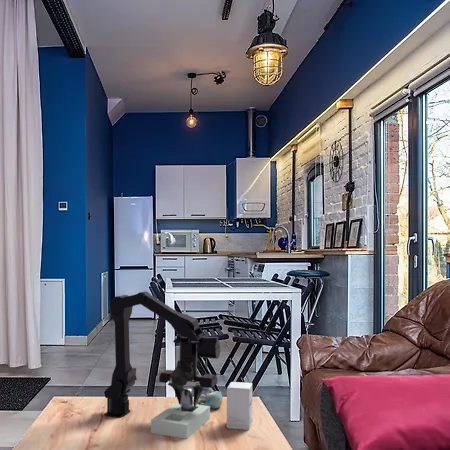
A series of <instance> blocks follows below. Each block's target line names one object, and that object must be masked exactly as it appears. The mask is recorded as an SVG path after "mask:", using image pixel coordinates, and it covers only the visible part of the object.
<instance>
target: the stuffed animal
mask: <svg viewBox="0 0 450 450" xmlns="http://www.w3.org/2000/svg"><path fill="white" fill-rule="evenodd" d="M206 388H207V387H206ZM206 391H207V392H205V394H204V393H201V395H200V397H199V400H198V402H197V405H204V406H210V409H219V408H220V407H221V406H222V405H223V399H224V398H223V395H222V392H221V391H218V390H213V388H212V387H211V388H207V390H206Z"/></svg>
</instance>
